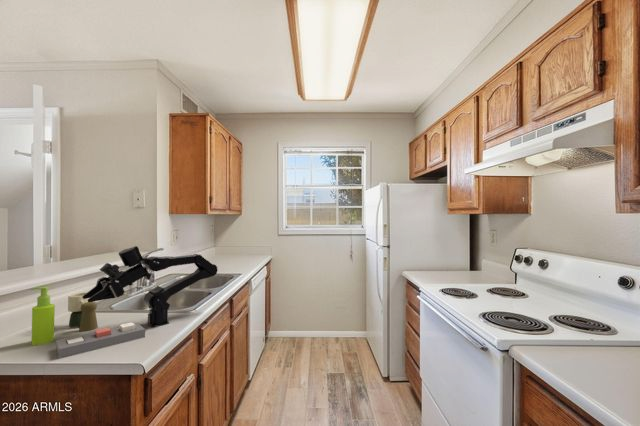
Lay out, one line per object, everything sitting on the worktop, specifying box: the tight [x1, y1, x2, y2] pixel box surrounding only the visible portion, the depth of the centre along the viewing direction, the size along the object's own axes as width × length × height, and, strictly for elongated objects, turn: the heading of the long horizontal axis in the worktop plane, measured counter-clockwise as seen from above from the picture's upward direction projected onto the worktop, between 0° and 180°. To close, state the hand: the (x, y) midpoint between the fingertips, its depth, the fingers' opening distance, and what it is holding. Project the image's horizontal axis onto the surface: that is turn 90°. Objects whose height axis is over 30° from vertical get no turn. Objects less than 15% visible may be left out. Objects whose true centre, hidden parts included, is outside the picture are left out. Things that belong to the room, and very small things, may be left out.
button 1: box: [67, 337, 84, 345], centre depth 100 cm, size 4×4×3 cm
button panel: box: [55, 322, 146, 360], centre depth 105 cm, size 24×10×4 cm, turn 136°
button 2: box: [119, 322, 135, 332], centre depth 111 cm, size 4×4×3 cm
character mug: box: [67, 292, 89, 328], centre depth 124 cm, size 11×7×13 cm, turn 51°
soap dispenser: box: [29, 286, 56, 346], centre depth 107 cm, size 6×7×20 cm
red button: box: [94, 327, 111, 338], centre depth 105 cm, size 4×4×3 cm
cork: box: [78, 301, 99, 332], centre depth 119 cm, size 6×6×11 cm
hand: (85, 299), depth 108 cm, fingers open, 9 cm apart
